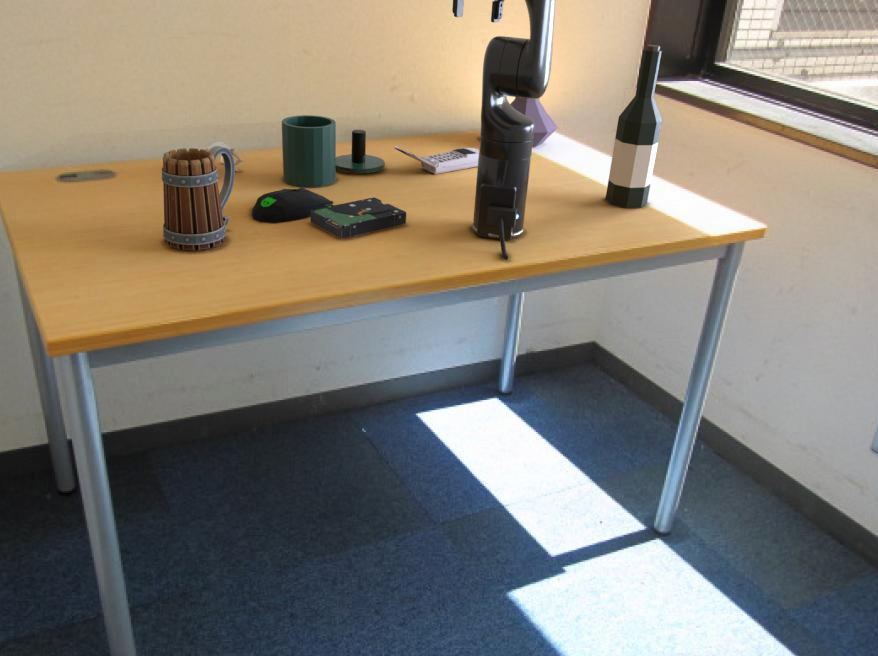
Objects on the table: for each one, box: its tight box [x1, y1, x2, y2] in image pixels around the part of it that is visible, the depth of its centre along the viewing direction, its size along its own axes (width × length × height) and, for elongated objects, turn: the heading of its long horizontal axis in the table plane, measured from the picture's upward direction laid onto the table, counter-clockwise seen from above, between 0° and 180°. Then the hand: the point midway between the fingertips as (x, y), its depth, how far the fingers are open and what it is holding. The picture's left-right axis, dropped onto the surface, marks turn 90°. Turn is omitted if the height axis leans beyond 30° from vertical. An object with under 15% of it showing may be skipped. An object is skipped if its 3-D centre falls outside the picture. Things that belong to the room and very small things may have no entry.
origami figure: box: [205, 141, 244, 173], centre depth 189 cm, size 12×8×5 cm
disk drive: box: [309, 197, 407, 239], centre depth 163 cm, size 10×3×15 cm
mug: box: [161, 146, 236, 252], centre depth 151 cm, size 16×11×15 cm
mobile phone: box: [393, 145, 479, 175], centre depth 195 cm, size 6×6×25 cm
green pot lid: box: [336, 129, 386, 174], centre depth 193 cm, size 12×12×8 cm
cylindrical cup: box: [281, 114, 337, 188], centre depth 183 cm, size 11×11×12 cm
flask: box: [510, 97, 559, 148], centre depth 214 cm, size 16×16×20 cm
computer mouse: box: [251, 187, 334, 224], centre depth 168 cm, size 11×16×4 cm
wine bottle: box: [604, 44, 663, 209], centre depth 173 cm, size 8×8×30 cm
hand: (476, 19), depth 172 cm, fingers open, 8 cm apart
